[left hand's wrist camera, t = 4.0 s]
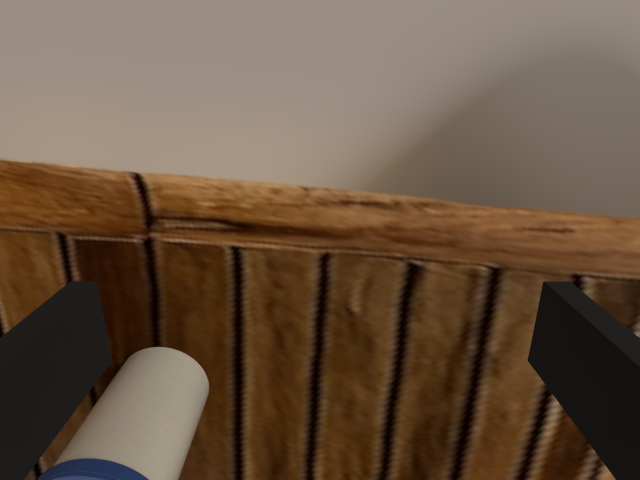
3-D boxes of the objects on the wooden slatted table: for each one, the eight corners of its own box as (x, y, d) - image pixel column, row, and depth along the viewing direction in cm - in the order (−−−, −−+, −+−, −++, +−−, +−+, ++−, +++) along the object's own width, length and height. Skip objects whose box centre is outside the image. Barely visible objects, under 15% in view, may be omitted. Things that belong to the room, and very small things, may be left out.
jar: (100, 372, 47) (-2, 507, 32) (172, 331, 45) (99, 454, 30) (157, 432, 50) (88, 582, 35) (226, 396, 48) (185, 538, 33)
